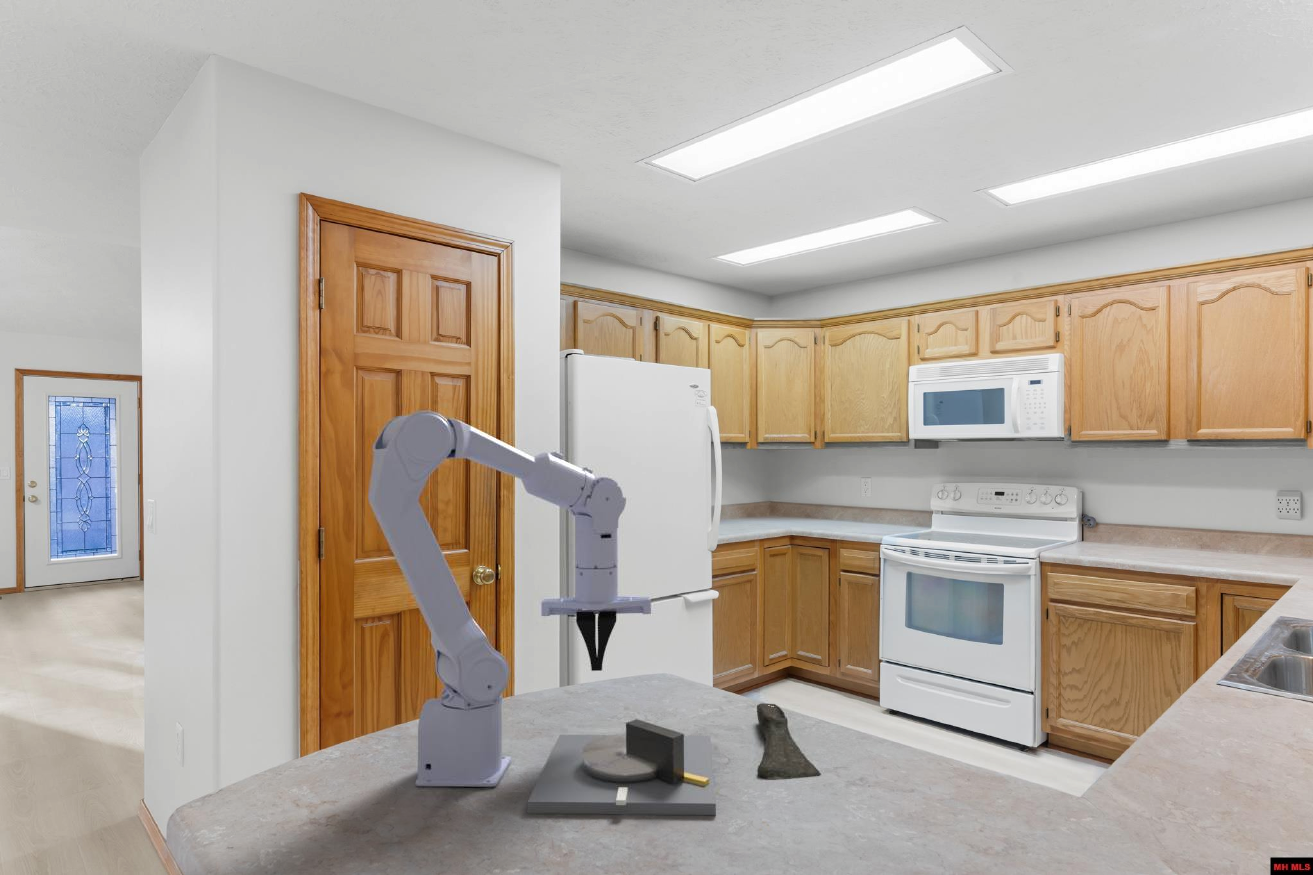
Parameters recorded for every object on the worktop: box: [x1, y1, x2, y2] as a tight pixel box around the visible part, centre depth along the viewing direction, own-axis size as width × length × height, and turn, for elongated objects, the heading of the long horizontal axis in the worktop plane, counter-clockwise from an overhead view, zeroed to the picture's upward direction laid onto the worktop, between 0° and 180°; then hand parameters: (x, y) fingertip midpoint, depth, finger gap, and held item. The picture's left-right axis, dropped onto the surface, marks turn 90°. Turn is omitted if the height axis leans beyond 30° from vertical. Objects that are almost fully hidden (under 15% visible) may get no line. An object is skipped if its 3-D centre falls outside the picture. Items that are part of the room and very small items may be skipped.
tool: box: [756, 702, 822, 780], centre depth 98 cm, size 21×8×3 cm, turn 1°
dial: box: [582, 718, 685, 784], centre depth 88 cm, size 14×11×5 cm
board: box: [527, 734, 717, 816], centre depth 89 cm, size 20×21×2 cm
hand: (596, 668), depth 100 cm, fingers closed
